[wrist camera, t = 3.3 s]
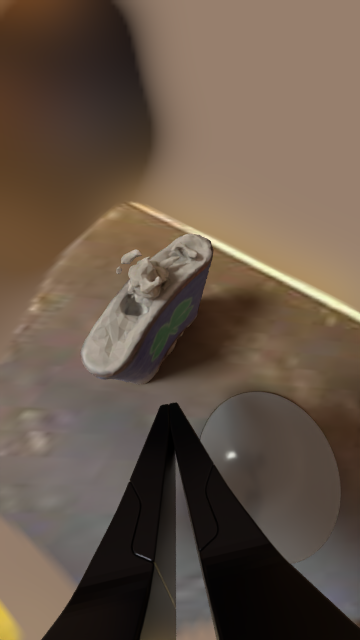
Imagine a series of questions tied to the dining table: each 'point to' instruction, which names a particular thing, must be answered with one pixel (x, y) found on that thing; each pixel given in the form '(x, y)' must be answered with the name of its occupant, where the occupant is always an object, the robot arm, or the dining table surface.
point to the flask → (149, 311)
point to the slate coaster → (277, 469)
